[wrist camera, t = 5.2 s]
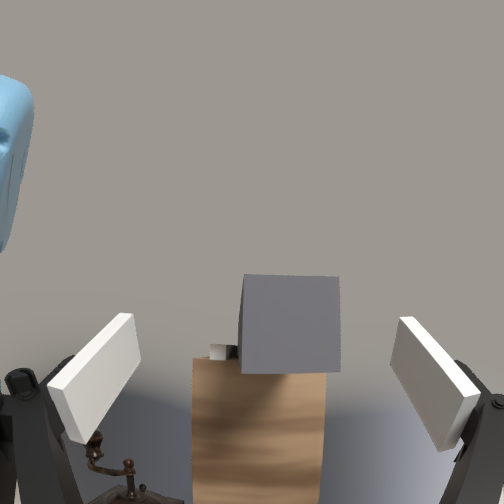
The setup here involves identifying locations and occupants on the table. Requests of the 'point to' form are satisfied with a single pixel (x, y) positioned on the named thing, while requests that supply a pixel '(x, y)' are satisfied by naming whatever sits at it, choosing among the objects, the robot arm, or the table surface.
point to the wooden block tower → (255, 433)
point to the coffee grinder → (119, 497)
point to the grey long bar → (289, 325)
